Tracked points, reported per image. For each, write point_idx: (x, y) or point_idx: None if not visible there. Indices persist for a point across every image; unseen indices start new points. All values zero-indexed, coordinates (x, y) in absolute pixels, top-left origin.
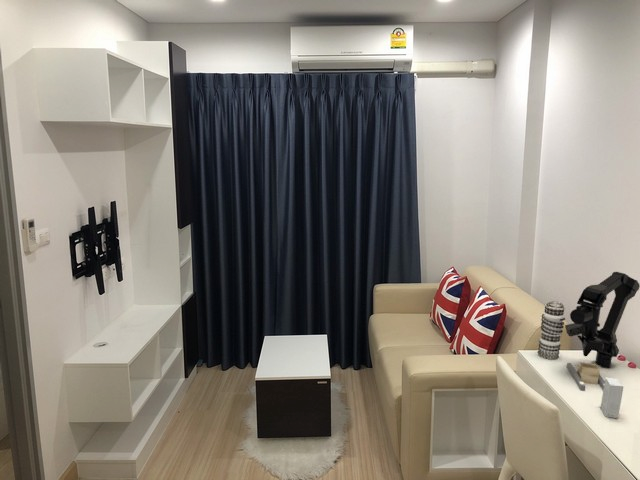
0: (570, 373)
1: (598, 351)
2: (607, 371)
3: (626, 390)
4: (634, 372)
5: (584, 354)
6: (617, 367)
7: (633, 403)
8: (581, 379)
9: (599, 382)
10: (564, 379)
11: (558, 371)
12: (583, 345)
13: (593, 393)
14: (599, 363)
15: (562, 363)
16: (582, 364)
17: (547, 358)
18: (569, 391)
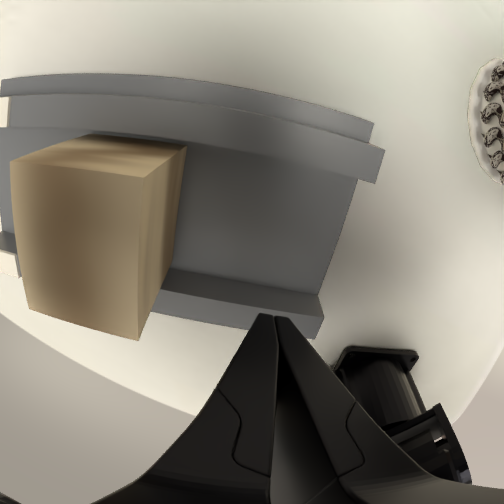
0: (239, 109)
1: (401, 427)
2: None
3: (102, 355)
4: None
5: (251, 328)
6: None
7: (2, 312)
8: (78, 138)
9: None
10: (178, 39)
11: (325, 55)
12: (260, 450)
13: None
14: (361, 377)
15: (448, 171)
16: (85, 191)
17: (493, 84)
18: (24, 36)
